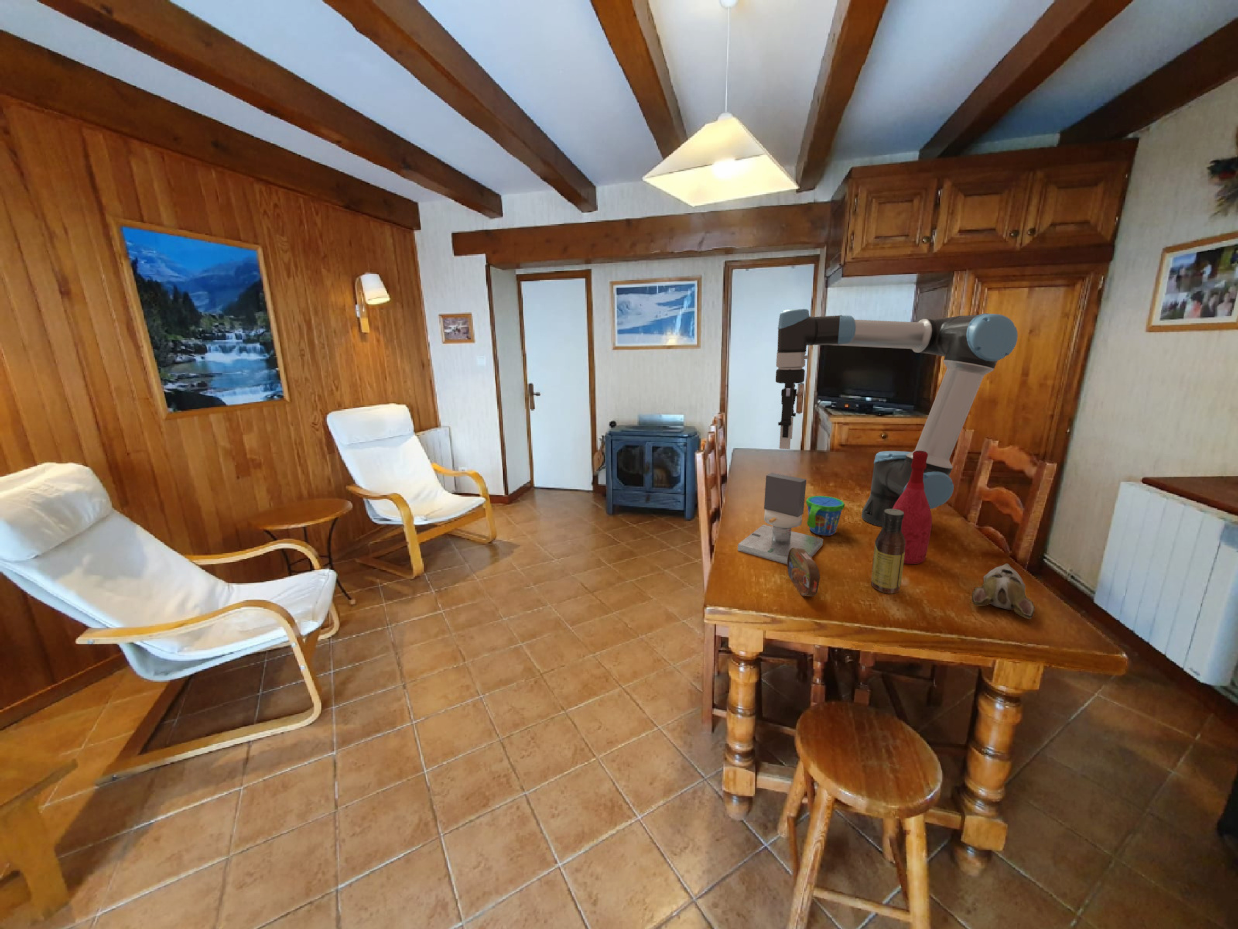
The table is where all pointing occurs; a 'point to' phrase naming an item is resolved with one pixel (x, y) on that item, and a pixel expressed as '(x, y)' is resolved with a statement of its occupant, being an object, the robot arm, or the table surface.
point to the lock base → (779, 549)
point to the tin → (803, 572)
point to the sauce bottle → (889, 553)
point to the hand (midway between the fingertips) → (785, 443)
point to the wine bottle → (915, 512)
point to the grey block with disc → (784, 500)
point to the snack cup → (824, 514)
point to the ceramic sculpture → (1004, 591)
